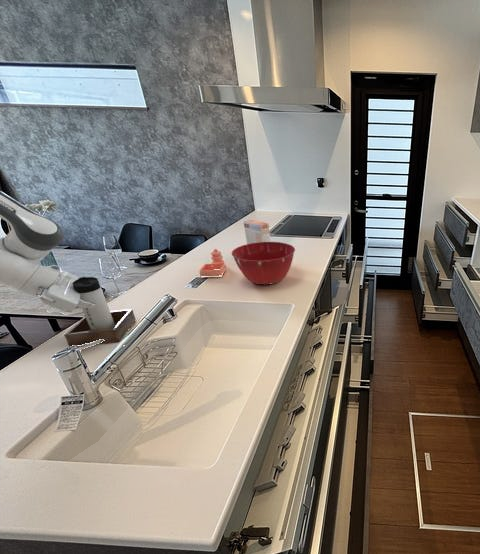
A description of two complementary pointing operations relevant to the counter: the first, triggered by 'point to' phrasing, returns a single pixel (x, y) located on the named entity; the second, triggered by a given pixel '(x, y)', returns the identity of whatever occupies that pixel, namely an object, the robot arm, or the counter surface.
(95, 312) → the travel mug
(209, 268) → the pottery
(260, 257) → the mixing bowl
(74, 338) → the basket
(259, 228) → the cracker box
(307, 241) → the counter surface
